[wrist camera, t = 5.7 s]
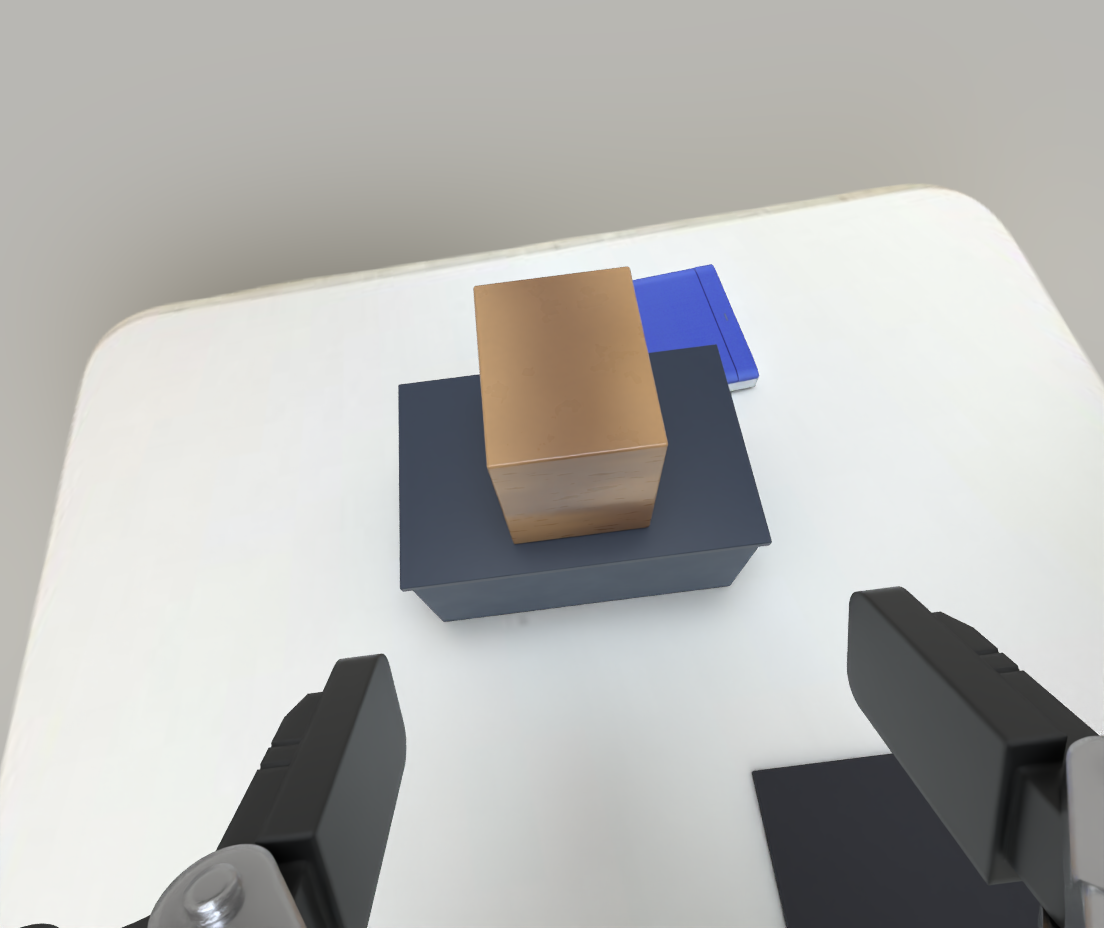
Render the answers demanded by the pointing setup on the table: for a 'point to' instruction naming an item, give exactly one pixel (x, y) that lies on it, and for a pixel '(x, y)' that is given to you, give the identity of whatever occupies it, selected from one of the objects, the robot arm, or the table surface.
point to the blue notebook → (694, 319)
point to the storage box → (582, 561)
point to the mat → (874, 853)
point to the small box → (569, 404)
